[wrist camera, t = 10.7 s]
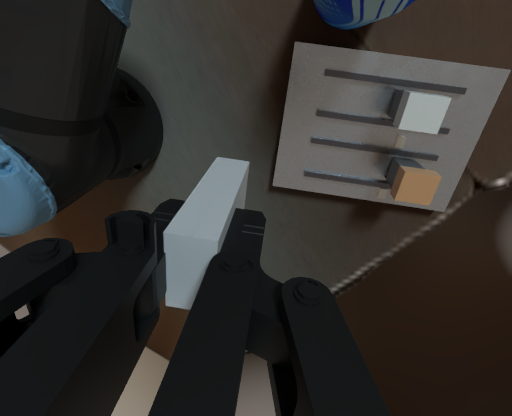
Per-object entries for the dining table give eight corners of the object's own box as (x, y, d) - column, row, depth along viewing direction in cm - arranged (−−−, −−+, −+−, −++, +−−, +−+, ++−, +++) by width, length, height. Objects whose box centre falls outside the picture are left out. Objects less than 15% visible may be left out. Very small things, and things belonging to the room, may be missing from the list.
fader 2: (381, 180, 40) (394, 200, 35) (389, 155, 39) (405, 171, 33) (411, 185, 40) (429, 205, 35) (421, 159, 39) (441, 176, 33)
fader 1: (383, 117, 37) (398, 128, 31) (392, 86, 35) (410, 92, 30) (416, 122, 37) (437, 134, 31) (427, 90, 35) (451, 98, 30)
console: (273, 180, 44) (272, 187, 42) (294, 42, 36) (295, 41, 34) (438, 205, 44) (446, 213, 41) (499, 69, 35) (514, 70, 33)
